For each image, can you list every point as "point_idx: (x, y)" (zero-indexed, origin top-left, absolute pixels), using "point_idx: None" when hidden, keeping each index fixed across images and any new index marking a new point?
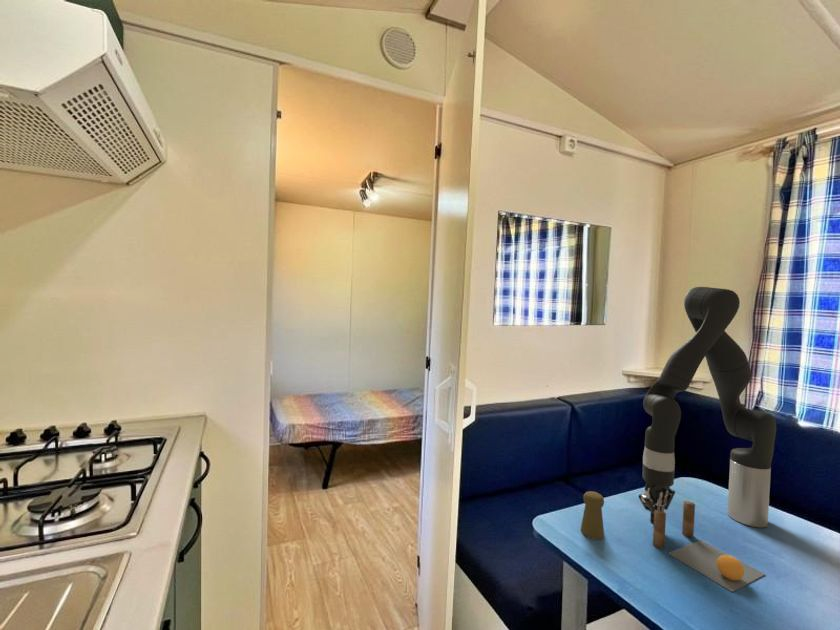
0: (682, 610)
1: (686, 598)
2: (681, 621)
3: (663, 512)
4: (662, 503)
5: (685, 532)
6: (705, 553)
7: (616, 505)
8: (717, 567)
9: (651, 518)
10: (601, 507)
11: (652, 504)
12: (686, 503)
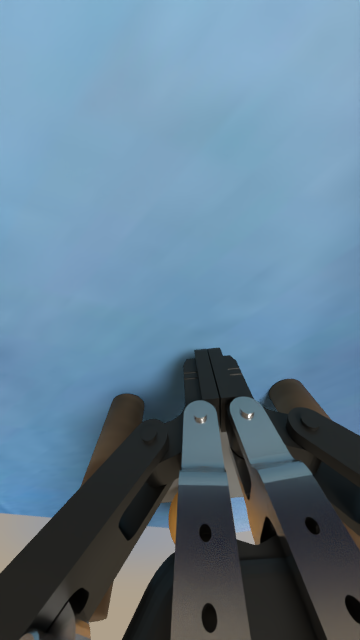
0: (24, 505)
1: (53, 496)
2: (7, 512)
3: (96, 618)
4: (255, 536)
5: (275, 404)
6: (228, 449)
7: (222, 25)
8: (175, 502)
9: (185, 381)
10: None
11: (116, 570)
12: None
